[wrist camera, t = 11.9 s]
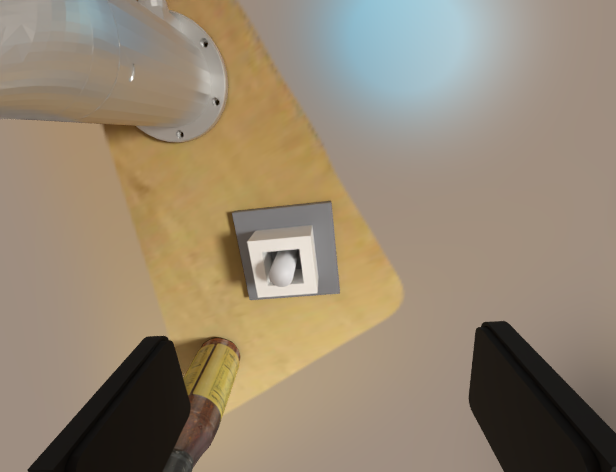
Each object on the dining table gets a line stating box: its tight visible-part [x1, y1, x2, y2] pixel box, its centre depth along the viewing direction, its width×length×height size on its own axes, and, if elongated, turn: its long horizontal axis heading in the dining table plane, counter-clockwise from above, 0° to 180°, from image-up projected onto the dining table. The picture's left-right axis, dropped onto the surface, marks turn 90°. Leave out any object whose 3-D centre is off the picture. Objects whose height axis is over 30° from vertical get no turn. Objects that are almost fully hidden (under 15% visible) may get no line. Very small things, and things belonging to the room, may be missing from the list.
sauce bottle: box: [163, 338, 240, 472], centre depth 34 cm, size 7×6×20 cm
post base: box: [232, 201, 340, 300], centre depth 35 cm, size 12×12×7 cm
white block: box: [247, 225, 318, 298], centre depth 35 cm, size 7×7×4 cm
